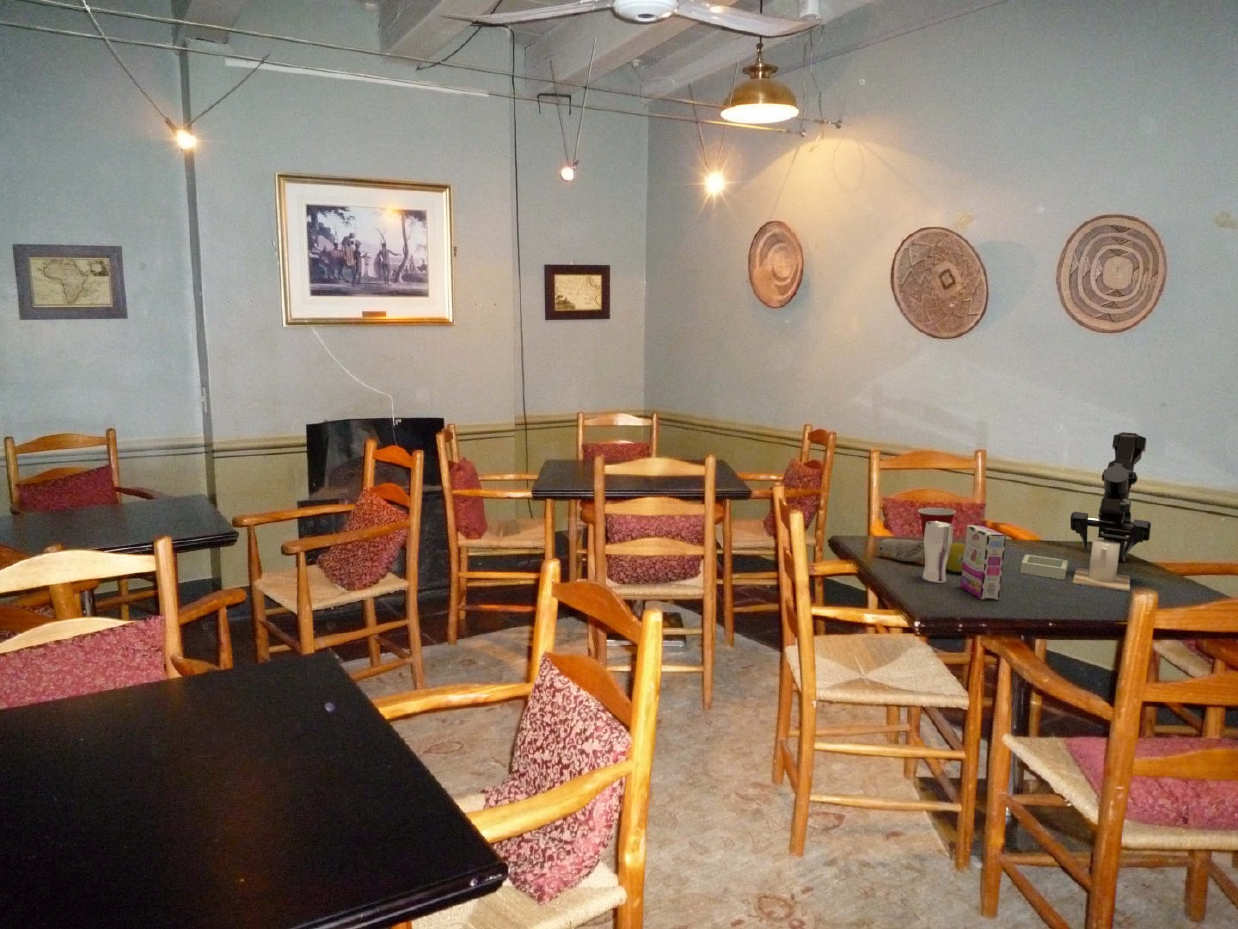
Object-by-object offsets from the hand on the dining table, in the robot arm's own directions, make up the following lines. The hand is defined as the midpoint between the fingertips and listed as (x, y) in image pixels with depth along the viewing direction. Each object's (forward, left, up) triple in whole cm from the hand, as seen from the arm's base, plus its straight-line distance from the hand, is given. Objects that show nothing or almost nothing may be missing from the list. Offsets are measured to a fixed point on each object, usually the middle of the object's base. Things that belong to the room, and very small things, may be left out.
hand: (1104, 551), depth 229 cm
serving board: (-1, 0, -8) cm, 8 cm away
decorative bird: (+12, -49, -9) cm, 51 cm away
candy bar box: (+32, -26, -9) cm, 42 cm away
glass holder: (-1, -14, -8) cm, 16 cm away
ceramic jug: (-2, 0, -8) cm, 8 cm away
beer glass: (+26, -38, -9) cm, 47 cm away
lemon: (+14, -34, -9) cm, 38 cm away
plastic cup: (-10, -45, -9) cm, 47 cm away
